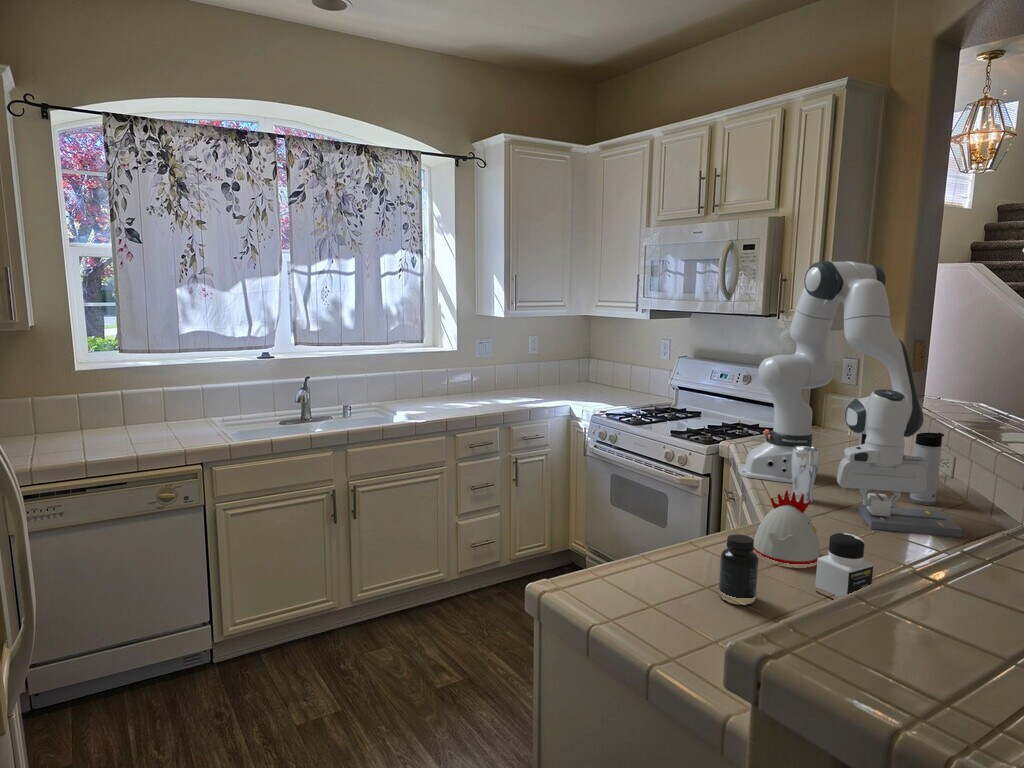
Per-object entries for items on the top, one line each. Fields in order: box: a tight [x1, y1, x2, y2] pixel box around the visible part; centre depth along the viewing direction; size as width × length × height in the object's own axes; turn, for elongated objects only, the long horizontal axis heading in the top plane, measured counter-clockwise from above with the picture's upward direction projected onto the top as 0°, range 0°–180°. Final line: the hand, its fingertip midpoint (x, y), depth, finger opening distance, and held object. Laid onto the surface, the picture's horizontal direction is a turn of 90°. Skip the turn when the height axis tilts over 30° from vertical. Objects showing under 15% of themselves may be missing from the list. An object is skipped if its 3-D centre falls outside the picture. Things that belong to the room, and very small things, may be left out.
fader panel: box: [856, 503, 963, 538], centre depth 171 cm, size 20×14×2 cm
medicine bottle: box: [814, 532, 874, 597], centre depth 129 cm, size 7×7×12 cm
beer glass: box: [789, 446, 820, 504], centre depth 188 cm, size 7×7×15 cm
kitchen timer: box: [753, 490, 821, 564], centre depth 148 cm, size 14×14×15 cm
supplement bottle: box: [718, 533, 759, 598], centre depth 128 cm, size 7×7×12 cm
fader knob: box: [867, 492, 891, 517], centre depth 172 cm, size 4×6×4 cm, turn 165°
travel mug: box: [909, 432, 945, 506], centre depth 187 cm, size 6×7×20 cm
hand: (878, 506), depth 172 cm, fingers closed on fader knob, 4 cm apart
